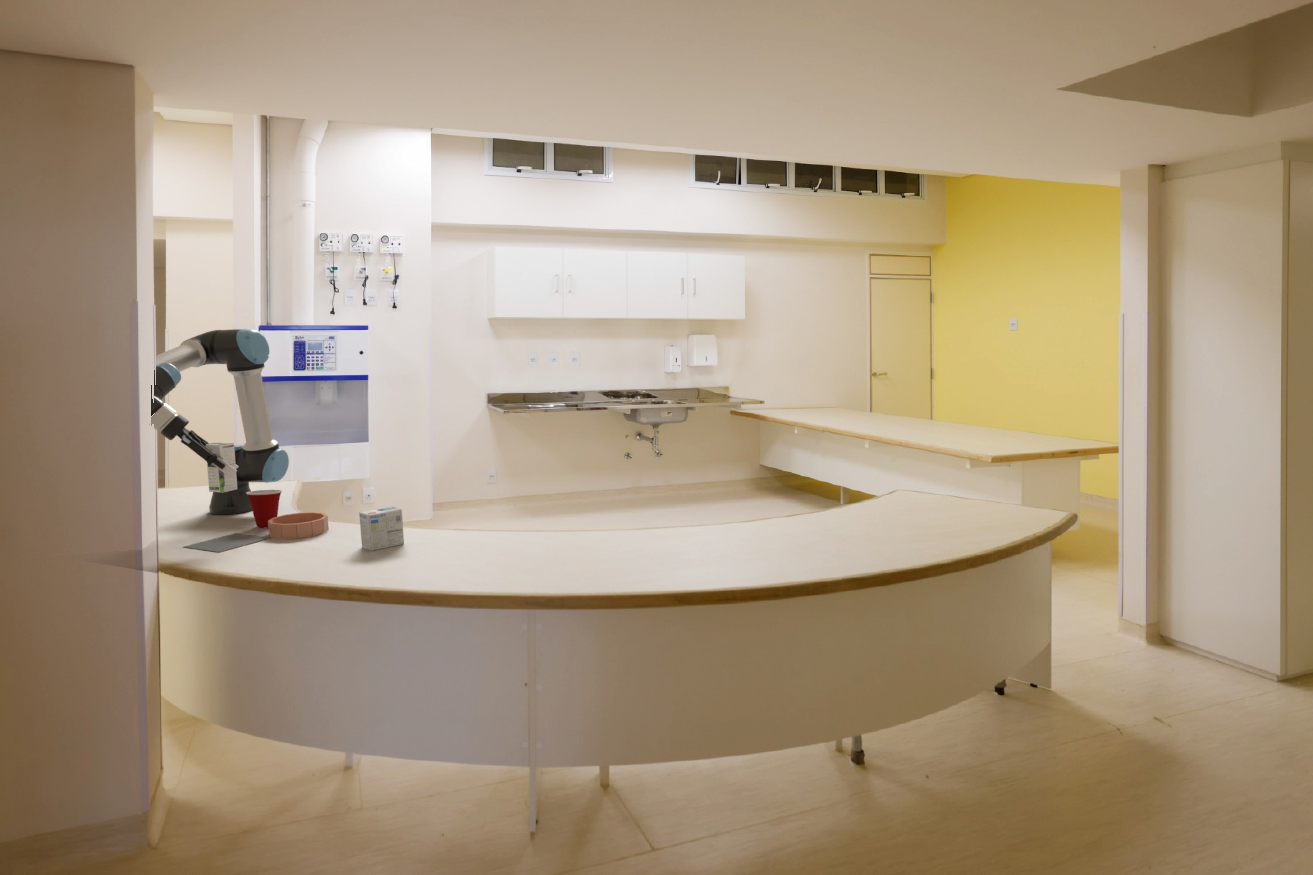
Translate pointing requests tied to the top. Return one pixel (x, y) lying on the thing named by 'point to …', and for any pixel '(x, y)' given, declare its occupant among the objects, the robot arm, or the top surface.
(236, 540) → the rubber mat
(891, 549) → the top surface
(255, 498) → the plastic cup
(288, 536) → the ceramic bowl
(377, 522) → the light bulb box
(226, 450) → the syrup box
